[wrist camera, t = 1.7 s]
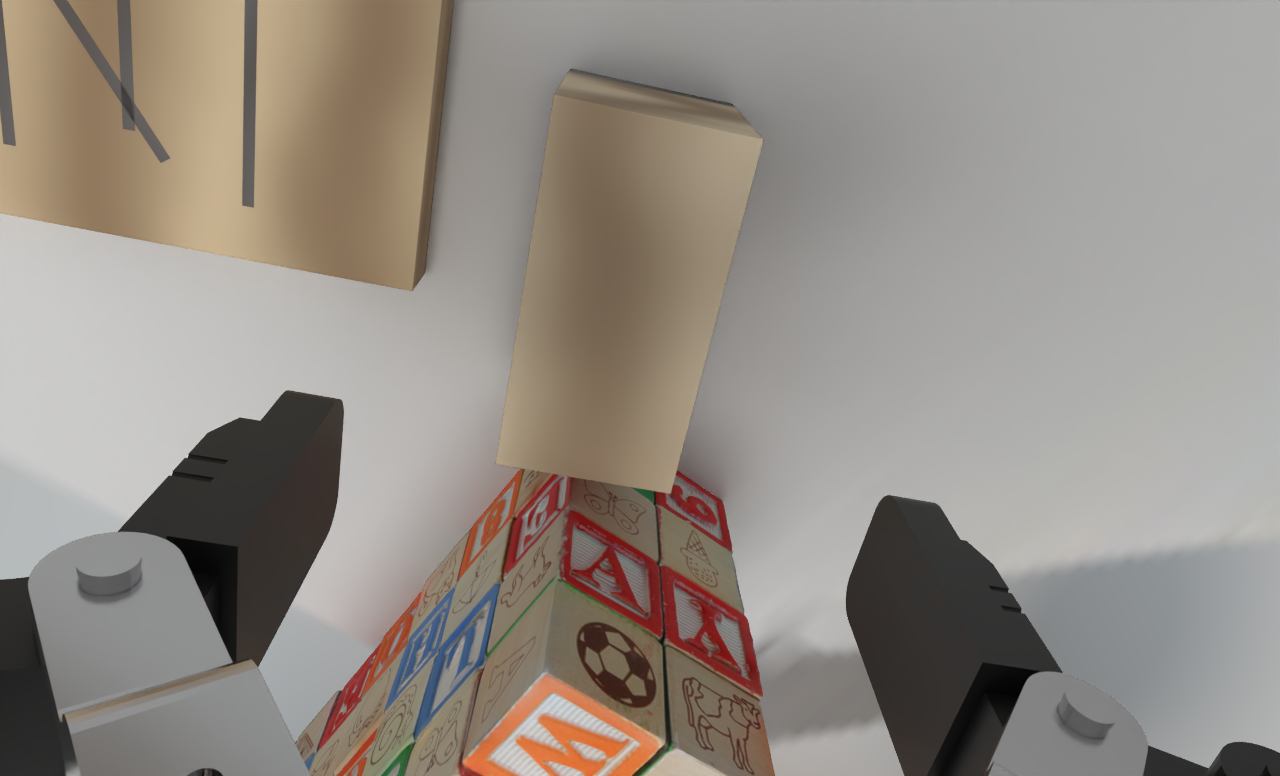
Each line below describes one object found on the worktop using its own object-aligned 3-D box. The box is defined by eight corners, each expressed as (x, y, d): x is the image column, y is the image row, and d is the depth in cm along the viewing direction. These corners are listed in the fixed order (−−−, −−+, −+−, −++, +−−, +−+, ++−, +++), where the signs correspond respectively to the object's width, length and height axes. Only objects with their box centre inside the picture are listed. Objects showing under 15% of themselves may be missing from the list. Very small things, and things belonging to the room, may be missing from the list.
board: (464, -107, 21) (453, -113, 20) (424, 273, 25) (412, 291, 24) (-187, -261, 20) (-251, -281, 18) (-116, 170, 24) (-165, 182, 22)
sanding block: (731, 103, 24) (763, 139, 18) (661, 392, 27) (670, 493, 22) (570, 68, 23) (554, 94, 18) (521, 366, 27) (495, 463, 21)
